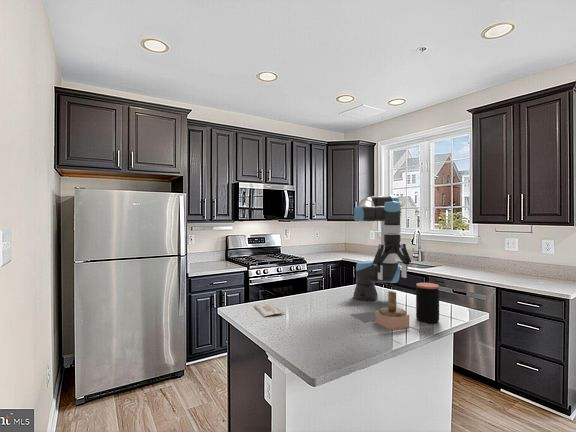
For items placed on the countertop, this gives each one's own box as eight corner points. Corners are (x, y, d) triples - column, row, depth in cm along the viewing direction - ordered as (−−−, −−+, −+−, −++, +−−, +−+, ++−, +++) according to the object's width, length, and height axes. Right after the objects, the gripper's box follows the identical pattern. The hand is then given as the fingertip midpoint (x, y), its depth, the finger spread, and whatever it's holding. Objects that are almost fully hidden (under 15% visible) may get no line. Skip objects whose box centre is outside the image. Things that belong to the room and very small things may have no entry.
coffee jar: (421, 316, 174) (421, 281, 174) (442, 320, 167) (442, 284, 167) (412, 320, 167) (412, 284, 167) (433, 325, 159) (434, 288, 159)
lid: (394, 308, 168) (394, 288, 168) (411, 315, 156) (411, 293, 156) (373, 310, 164) (373, 290, 164) (389, 317, 152) (389, 295, 152)
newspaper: (286, 316, 177) (285, 311, 176) (264, 321, 172) (263, 316, 172) (273, 304, 198) (273, 300, 198) (253, 309, 194) (253, 304, 194)
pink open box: (394, 320, 167) (394, 308, 167) (409, 327, 156) (409, 314, 156) (375, 323, 163) (375, 310, 163) (389, 330, 153) (389, 317, 153)
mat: (372, 312, 181) (372, 311, 181) (388, 320, 167) (388, 319, 167) (349, 315, 176) (349, 314, 176) (364, 323, 163) (364, 322, 163)
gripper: (408, 233, 167) (408, 275, 168) (365, 234, 159) (365, 278, 159) (418, 233, 160) (418, 278, 160) (374, 235, 152) (374, 281, 152)
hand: (392, 278), depth 160 cm, fingers open, 13 cm apart
